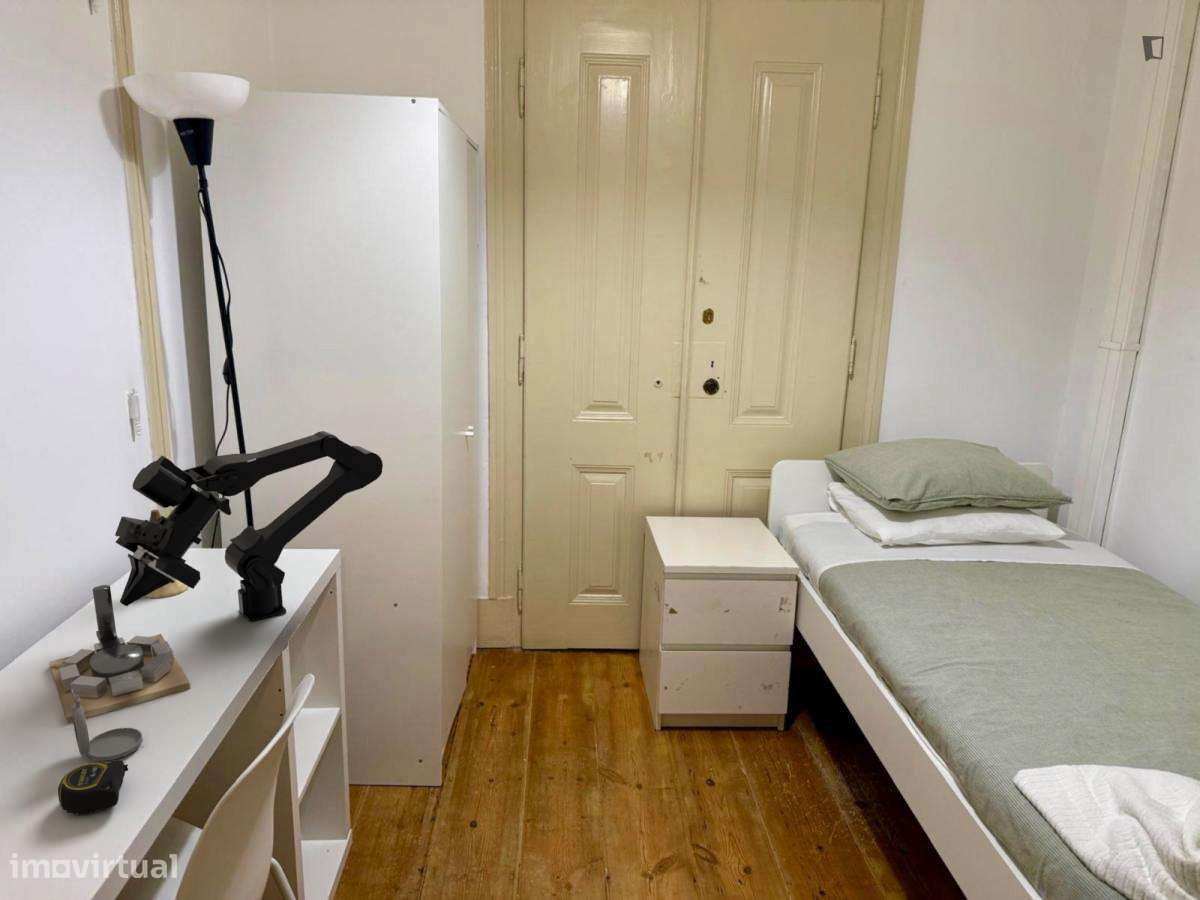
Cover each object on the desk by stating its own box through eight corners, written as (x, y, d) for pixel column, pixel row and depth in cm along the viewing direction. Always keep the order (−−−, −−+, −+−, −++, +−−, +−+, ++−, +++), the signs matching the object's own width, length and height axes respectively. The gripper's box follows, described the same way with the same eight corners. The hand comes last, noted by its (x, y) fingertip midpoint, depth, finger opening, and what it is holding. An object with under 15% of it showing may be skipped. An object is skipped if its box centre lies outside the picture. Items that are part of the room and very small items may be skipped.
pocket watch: (154, 740, 117) (146, 674, 114) (101, 776, 109) (91, 707, 106) (108, 727, 119) (99, 662, 117) (53, 761, 111) (42, 693, 109)
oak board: (161, 639, 144) (160, 632, 143) (190, 688, 129) (189, 680, 129) (48, 667, 134) (47, 660, 134) (66, 723, 120) (64, 715, 119)
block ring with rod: (156, 632, 143) (149, 570, 140) (182, 677, 130) (174, 609, 127) (53, 658, 134) (43, 592, 131) (69, 708, 121) (58, 637, 118)
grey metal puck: (139, 657, 136) (137, 640, 135) (148, 675, 131) (146, 658, 130) (88, 670, 132) (86, 652, 131) (96, 690, 126) (94, 671, 126)
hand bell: (175, 599, 159) (166, 518, 154) (131, 597, 159) (121, 516, 154) (197, 581, 167) (189, 503, 162) (155, 579, 167) (145, 502, 162)
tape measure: (118, 815, 102) (115, 788, 101) (53, 825, 100) (49, 798, 99) (130, 780, 109) (126, 754, 108) (68, 789, 107) (64, 763, 106)
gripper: (122, 484, 142) (56, 565, 136) (173, 511, 130) (104, 599, 125) (174, 518, 150) (114, 595, 144) (227, 546, 138) (164, 631, 133)
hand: (123, 604), depth 136 cm, fingers closed
